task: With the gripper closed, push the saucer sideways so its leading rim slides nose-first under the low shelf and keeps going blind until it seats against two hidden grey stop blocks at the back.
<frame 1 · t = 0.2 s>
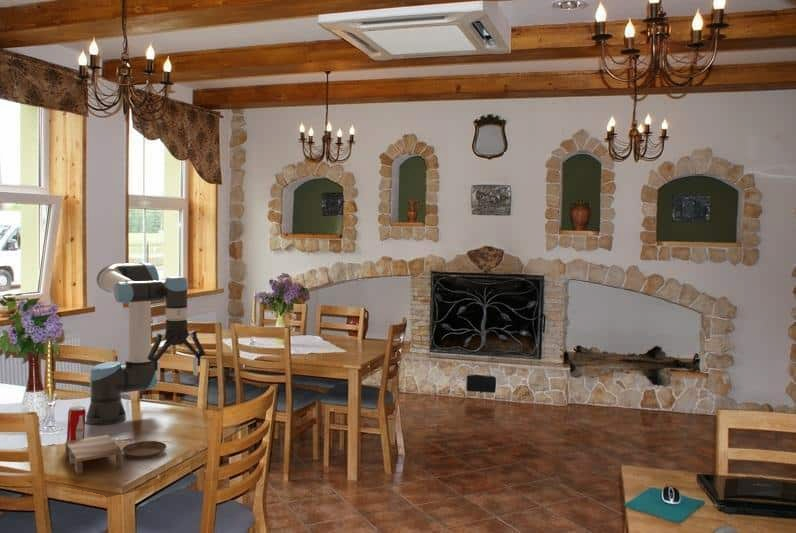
hand: (177, 377, 251), 26 cm above the table, fingers open, 13 cm apart
saucer: (144, 455, 246), on the table
beverage can: (76, 449, 250), on the table
overhang shelf: (93, 463, 236), on the table
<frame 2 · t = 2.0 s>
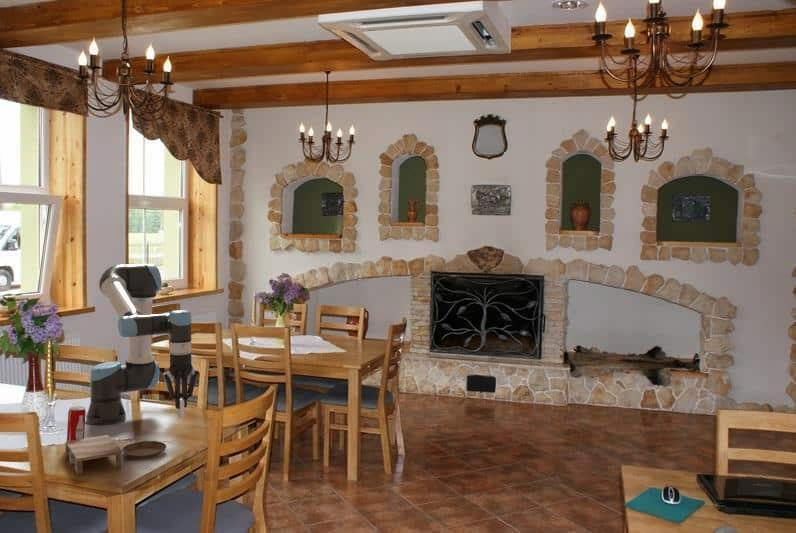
hand: (181, 416, 252), 12 cm above the table, fingers closed
nothing on the table moved.
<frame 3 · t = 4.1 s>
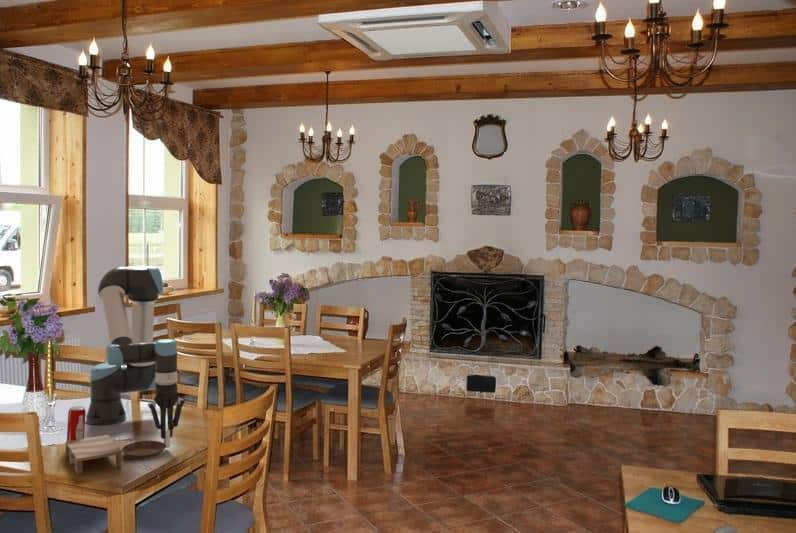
hand: (166, 446, 250), 1 cm above the table, fingers closed
saucer: (143, 455, 246), on the table, touching gripper
everything else where it was.
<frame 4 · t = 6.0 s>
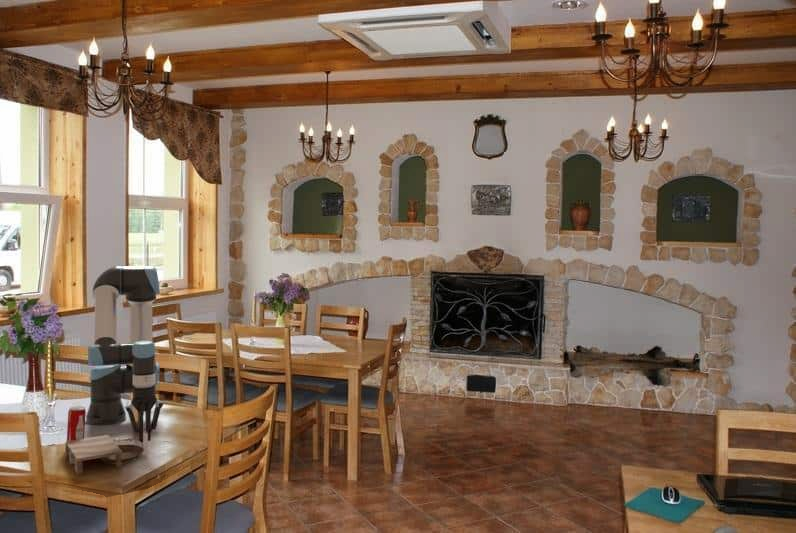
hand: (144, 450, 246), 1 cm above the table, fingers closed
saucer: (121, 459, 241), on the table, touching gripper
everything else where it was.
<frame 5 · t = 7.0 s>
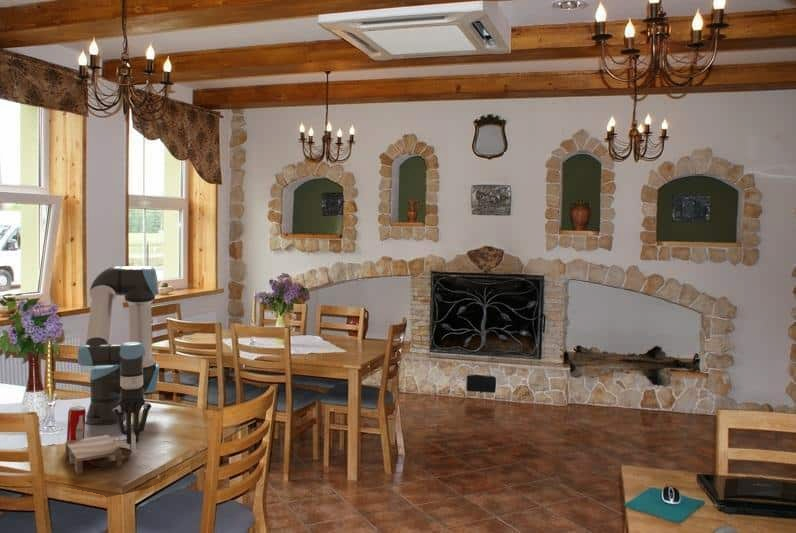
hand: (132, 452, 243), 1 cm above the table, fingers closed
saucer: (108, 462, 239), on the table, touching gripper
everything else where it was.
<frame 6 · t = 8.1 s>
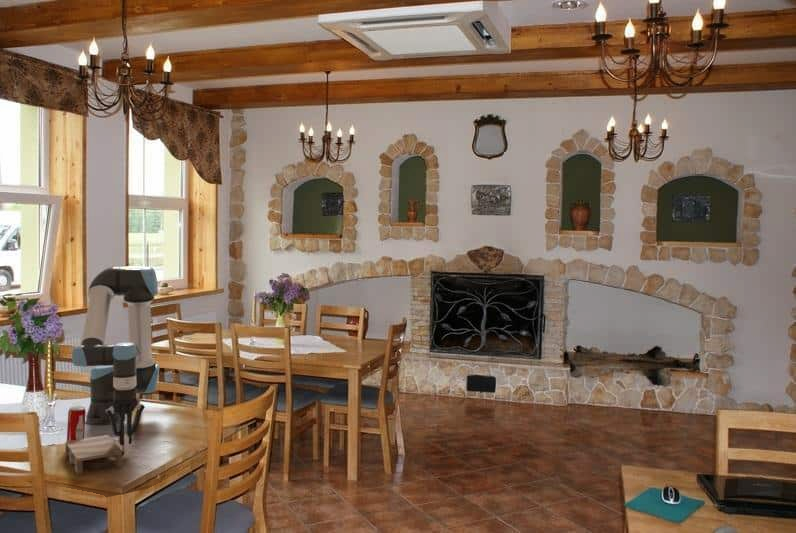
hand: (125, 453, 242), 1 cm above the table, fingers closed
saucer: (101, 463, 237), on the table
everything else where it was.
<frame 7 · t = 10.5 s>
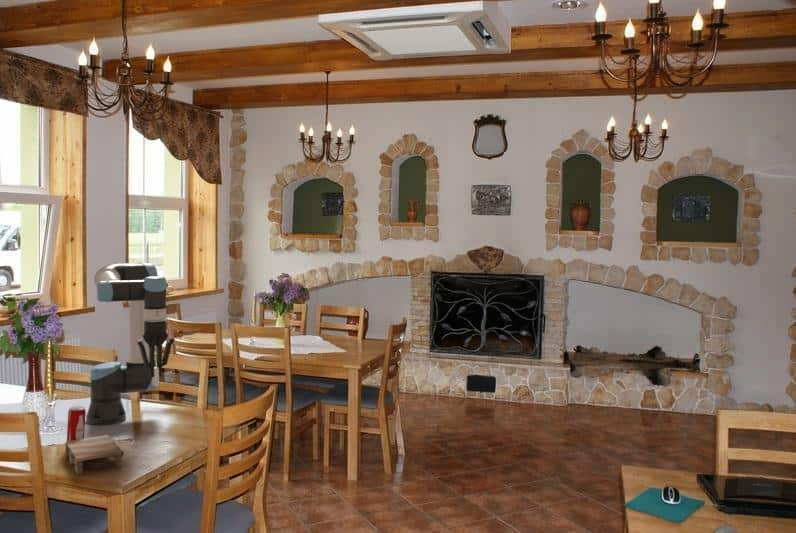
hand: (155, 385, 246), 24 cm above the table, fingers closed
nothing on the table moved.
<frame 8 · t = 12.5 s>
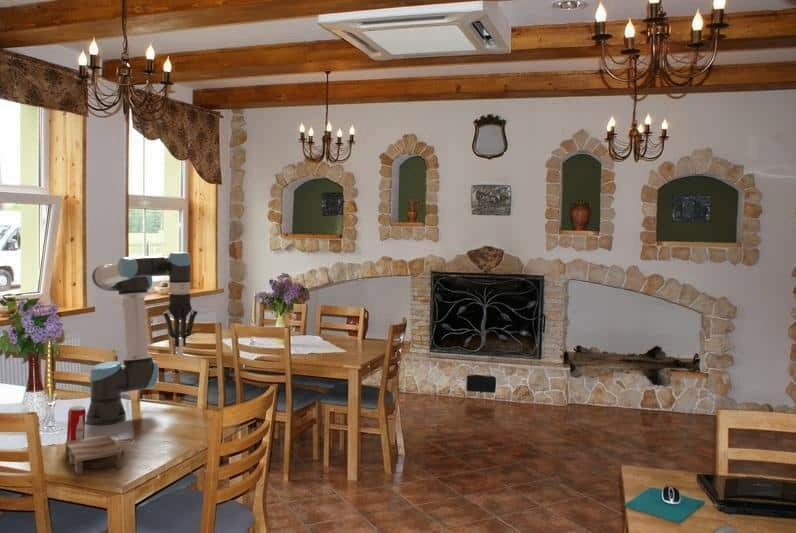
hand: (180, 355, 261), 32 cm above the table, fingers closed
nothing on the table moved.
at the end: saucer inside the target area (1.2 cm from its centre), on the table; saucer tilted 0°; saucer moved 14.6 cm from its start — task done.
